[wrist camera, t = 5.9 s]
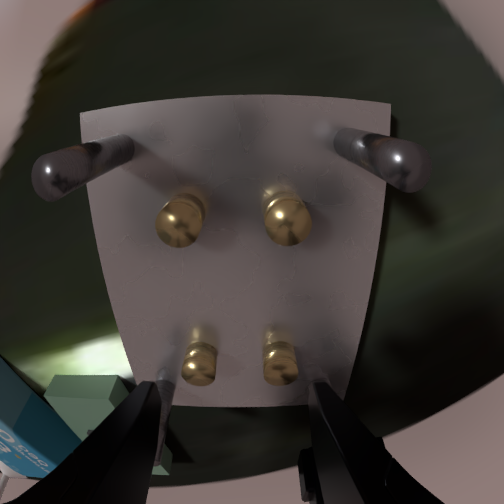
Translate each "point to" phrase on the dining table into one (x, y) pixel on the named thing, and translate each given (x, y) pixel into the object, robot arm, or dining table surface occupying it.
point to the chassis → (237, 237)
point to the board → (92, 405)
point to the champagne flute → (7, 476)
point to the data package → (30, 429)
